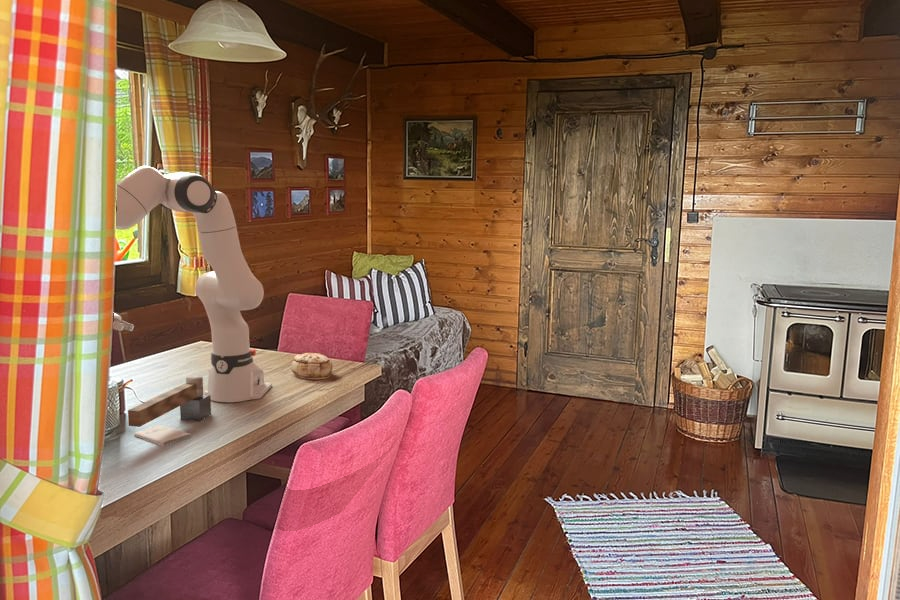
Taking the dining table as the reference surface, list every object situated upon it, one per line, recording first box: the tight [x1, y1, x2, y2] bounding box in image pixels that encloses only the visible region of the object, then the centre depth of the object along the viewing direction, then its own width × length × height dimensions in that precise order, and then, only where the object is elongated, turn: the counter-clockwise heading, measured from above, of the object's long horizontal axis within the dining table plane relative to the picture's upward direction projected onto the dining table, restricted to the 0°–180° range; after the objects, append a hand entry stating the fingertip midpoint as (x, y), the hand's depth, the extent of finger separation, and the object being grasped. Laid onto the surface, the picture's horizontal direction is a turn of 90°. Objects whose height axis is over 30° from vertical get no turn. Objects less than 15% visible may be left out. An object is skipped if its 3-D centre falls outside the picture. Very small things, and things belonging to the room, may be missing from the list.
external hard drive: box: [134, 424, 192, 447], centre depth 189 cm, size 2×8×12 cm
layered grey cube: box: [179, 393, 212, 422], centre depth 205 cm, size 6×6×6 cm
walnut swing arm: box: [127, 375, 204, 428], centre depth 191 cm, size 30×4×5 cm, turn 168°
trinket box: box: [290, 352, 333, 380], centre depth 251 cm, size 13×15×8 cm
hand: (127, 328), depth 185 cm, fingers open, 8 cm apart
